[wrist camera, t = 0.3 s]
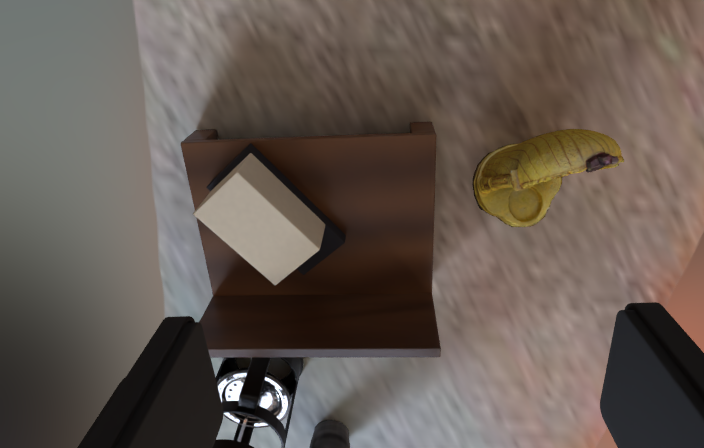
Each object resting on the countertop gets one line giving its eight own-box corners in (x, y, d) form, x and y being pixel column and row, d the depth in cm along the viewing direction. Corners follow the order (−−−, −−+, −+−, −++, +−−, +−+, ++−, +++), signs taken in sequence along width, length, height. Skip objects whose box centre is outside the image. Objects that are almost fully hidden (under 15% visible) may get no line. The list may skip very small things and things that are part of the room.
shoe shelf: (195, 129, 46) (139, 176, 35) (432, 121, 44) (448, 167, 34) (225, 281, 54) (187, 357, 43) (428, 279, 52) (440, 357, 41)
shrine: (491, 86, 43) (541, 137, 29) (583, 100, 43) (674, 157, 30) (460, 204, 48) (490, 293, 35) (541, 217, 48) (603, 309, 35)
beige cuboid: (211, 181, 44) (187, 209, 39) (250, 142, 42) (231, 166, 37) (305, 267, 48) (296, 304, 42) (346, 235, 46) (341, 269, 40)
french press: (294, 398, 61) (249, 612, 41) (219, 381, 61) (137, 589, 40) (314, 327, 56) (275, 530, 35) (233, 307, 55) (145, 503, 35)
